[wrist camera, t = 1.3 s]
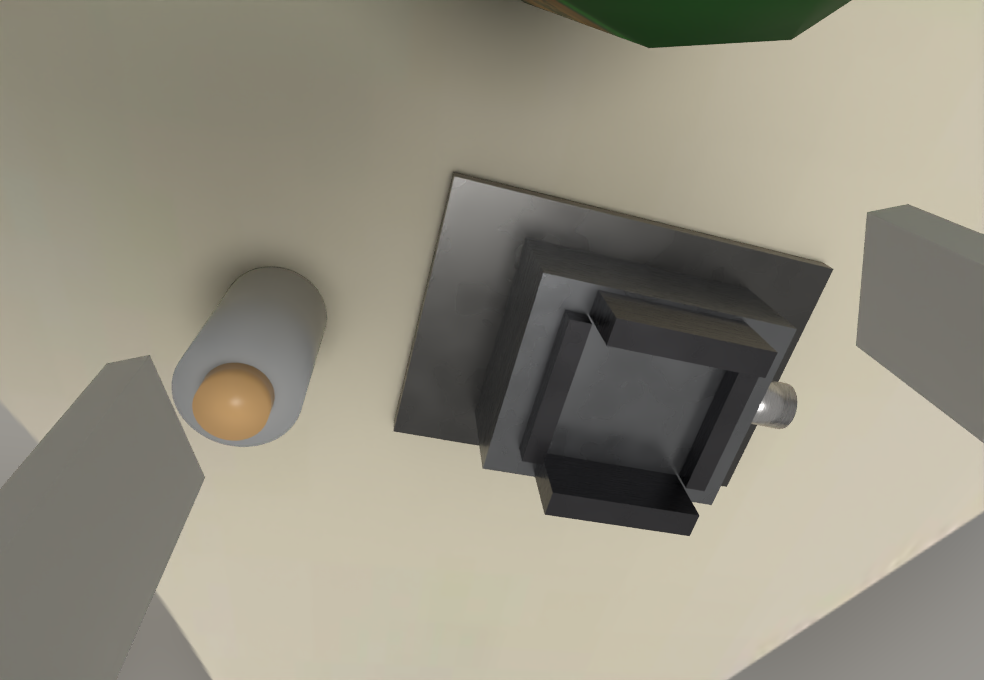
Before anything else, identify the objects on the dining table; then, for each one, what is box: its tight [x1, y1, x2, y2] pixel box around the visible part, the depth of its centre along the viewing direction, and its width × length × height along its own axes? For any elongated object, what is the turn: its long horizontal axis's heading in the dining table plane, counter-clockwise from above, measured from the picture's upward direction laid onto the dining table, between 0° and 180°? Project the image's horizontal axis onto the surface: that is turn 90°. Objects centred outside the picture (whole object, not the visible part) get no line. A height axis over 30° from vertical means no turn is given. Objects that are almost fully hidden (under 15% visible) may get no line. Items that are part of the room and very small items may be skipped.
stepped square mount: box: [394, 172, 833, 536], centre depth 33 cm, size 20×14×9 cm
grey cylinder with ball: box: [172, 267, 327, 447], centre depth 30 cm, size 5×5×9 cm
